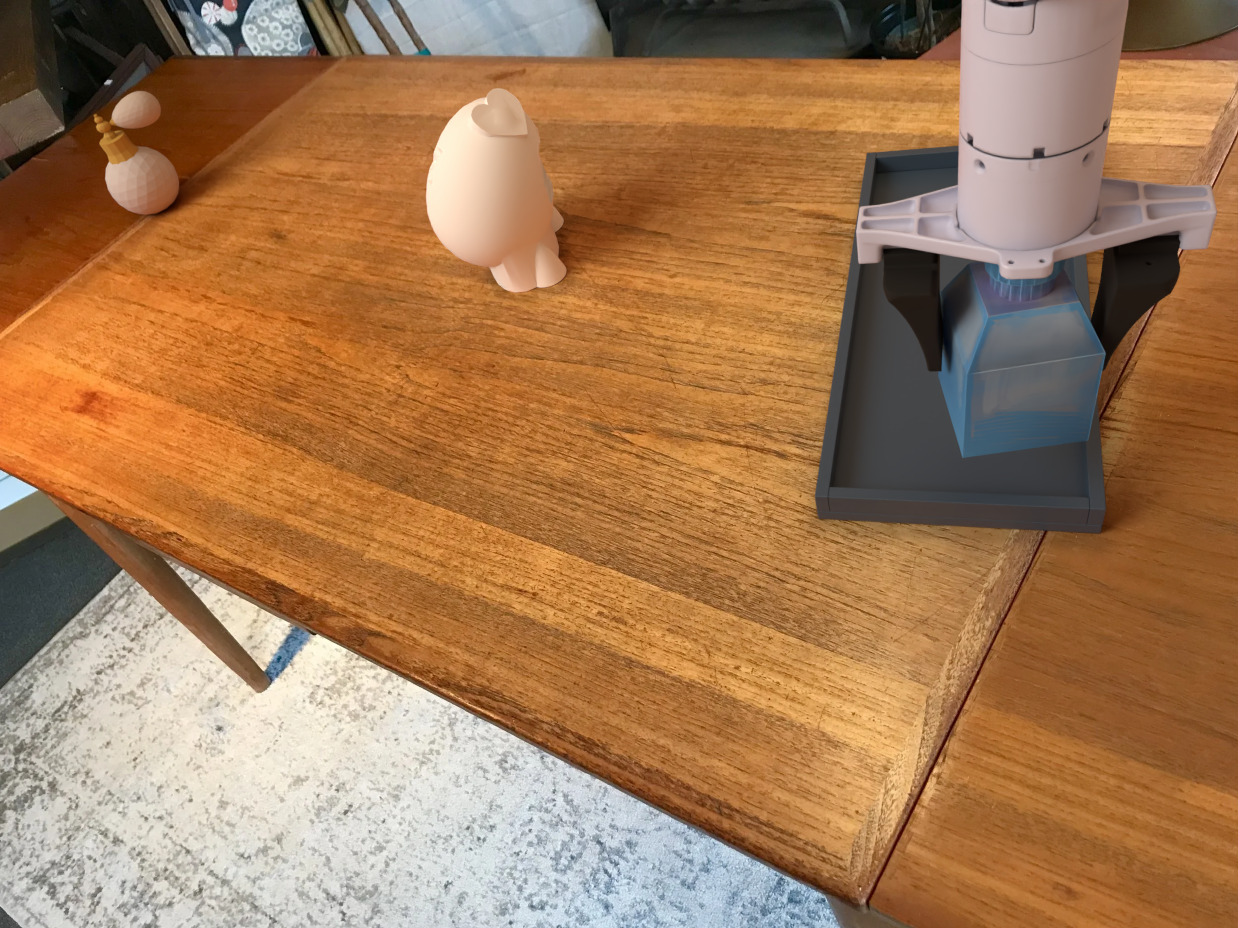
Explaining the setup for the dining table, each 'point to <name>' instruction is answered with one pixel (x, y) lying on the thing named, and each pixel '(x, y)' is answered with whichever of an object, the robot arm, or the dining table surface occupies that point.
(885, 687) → the dining table surface
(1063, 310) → the perfume bottle
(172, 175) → the perfume bottle
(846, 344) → the tray
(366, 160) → the dining table surface
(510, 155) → the figurine
